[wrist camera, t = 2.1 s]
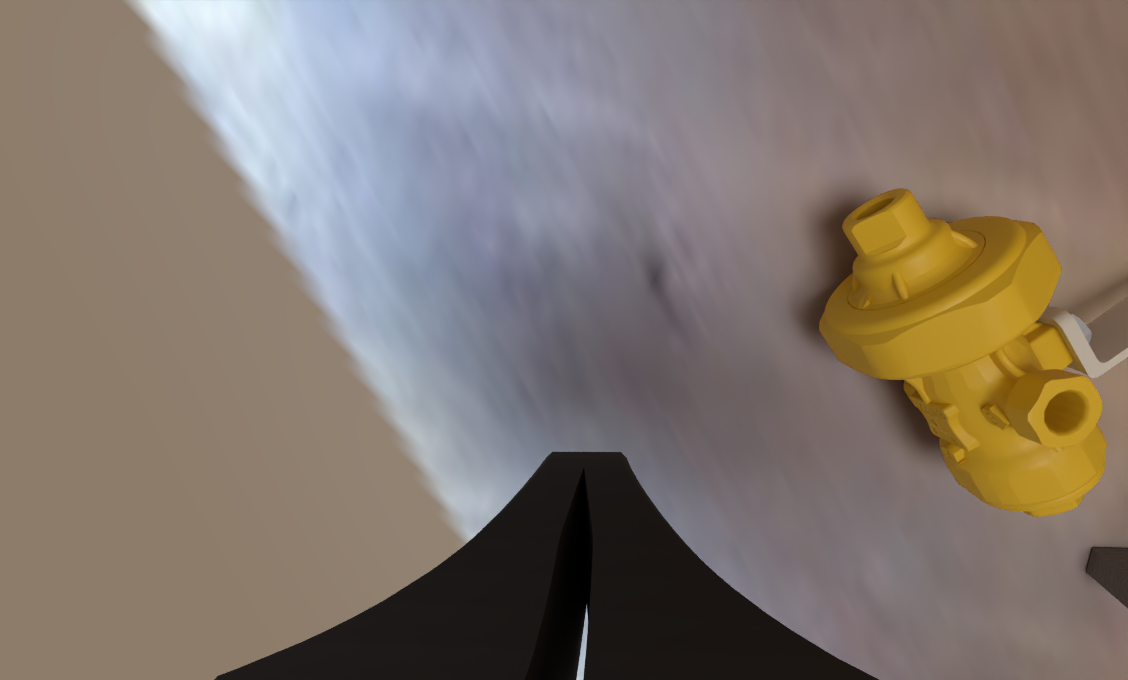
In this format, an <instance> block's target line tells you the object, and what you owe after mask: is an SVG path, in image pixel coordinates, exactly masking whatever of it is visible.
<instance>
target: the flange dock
mask: <svg viewBox="0 0 1128 680" xmlns="http://www.w3.org/2000/svg"><path fill="white" fill-rule="evenodd" d="M1086 573H1088V574H1089V575H1090V576H1091V577H1092V578H1093V579H1095V580H1096V581H1097V582H1098V583H1099V584H1100V585H1101V586H1103V587H1104V588H1105V589H1106V590H1107V591H1108V592H1110V593H1111V594H1112V595H1113V596H1114V597H1115V598H1116V599H1118V600H1119V601H1120V602H1121V603H1122V604H1123V605H1125V606H1126V607H1127V608H1128V548H1092V552H1091V555H1090V559H1089V563H1088V566H1087V570H1086Z"/></svg>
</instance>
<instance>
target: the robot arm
mask: <svg viewBox="0 0 1128 680" xmlns="http://www.w3.org/2000/svg"><path fill="white" fill-rule="evenodd" d="M586 605H587V611H588V634H587V647H586V659H585V669H584V680H879V679H877V678H875V677H873V676H871V675H869V674H867V673H865V672H863V671H861V670H859V669H857V668H855V667H853V666H851V665H850V664H848V663H846V662H844V661H842V660H840V659H838V658H836V657H834V656H833V655H831V654H829V653H828V652H826V651H824V650H823V649H821V648H819V647H818V646H816V645H815V644H813V643H811V642H810V641H808V640H806V639H805V638H803V637H802V636H800V635H798V634H797V633H795V632H793V631H792V630H790V629H789V628H787V627H786V626H784V625H783V624H781V623H780V622H778V621H777V620H775V619H774V618H772V617H771V616H769V615H768V614H767V613H765V612H764V611H762V610H761V609H760V608H758V607H757V606H756V605H754V604H753V603H752V602H751V601H749V600H748V599H747V598H745V597H744V596H743V595H741V594H740V593H739V592H737V591H736V590H735V589H733V588H732V587H731V586H730V585H729V584H727V583H726V582H725V581H724V580H723V579H721V578H720V577H719V576H718V575H717V574H716V573H715V572H713V571H712V570H711V569H710V568H709V567H708V566H707V565H706V564H705V563H704V562H703V561H702V560H701V559H700V558H699V557H698V556H697V555H696V554H695V553H694V552H693V551H692V550H691V549H690V548H689V547H688V546H687V544H686V543H685V542H684V541H683V540H682V539H681V538H680V536H679V535H678V534H677V533H676V532H675V531H674V530H673V528H672V527H671V526H670V525H669V524H668V522H667V521H666V520H665V519H664V517H663V516H662V515H661V513H660V512H659V511H658V509H657V508H656V506H655V505H654V504H653V502H652V501H651V500H650V498H649V497H648V495H647V494H646V492H645V491H644V489H643V488H642V486H641V485H640V483H639V481H638V480H637V478H636V476H635V475H634V473H633V471H632V469H631V467H630V465H629V463H628V460H627V458H626V457H625V456H624V455H623V454H622V453H621V452H552V453H551V454H550V455H549V456H548V457H547V458H546V459H545V460H544V461H543V463H542V464H541V465H540V467H539V468H538V469H537V470H536V472H535V473H534V474H533V476H532V477H531V478H530V479H529V480H528V482H527V483H526V484H525V485H524V486H523V488H522V489H521V490H520V491H519V492H518V493H517V494H516V495H515V496H514V498H513V499H512V500H511V501H510V502H509V503H508V504H507V505H506V506H505V507H504V509H503V510H502V511H501V512H500V513H499V514H498V515H497V516H496V517H495V518H493V519H492V520H491V521H490V522H489V523H488V524H487V525H486V526H485V527H484V528H483V529H482V530H481V531H480V532H479V533H478V534H477V535H476V536H475V537H474V538H473V539H471V540H470V541H469V542H468V543H467V544H466V545H464V546H463V547H462V548H461V549H460V550H458V551H457V552H456V553H454V554H453V555H452V556H451V557H449V558H448V559H447V560H445V561H444V562H442V563H441V564H440V565H438V566H437V567H436V568H434V569H433V570H431V571H430V572H429V573H427V574H425V575H424V576H422V577H420V578H419V579H418V580H416V581H414V582H413V583H411V584H410V585H408V586H406V587H405V588H403V589H401V590H400V591H398V592H397V593H396V594H394V595H392V596H391V597H389V598H387V599H386V600H384V601H382V602H380V603H379V604H377V605H375V606H373V607H372V608H370V609H368V610H366V611H364V612H362V613H360V614H358V615H357V616H355V617H353V618H351V619H349V620H347V621H345V622H343V623H341V624H339V625H337V626H335V627H333V628H331V629H329V630H327V631H325V632H323V633H321V634H318V635H316V636H314V637H312V638H310V639H308V640H306V641H303V642H301V643H299V644H296V645H294V646H291V647H289V648H287V649H284V650H282V651H279V652H277V653H274V654H272V655H270V656H267V657H265V658H262V659H260V660H257V661H255V662H252V663H250V664H248V665H245V666H243V667H240V668H238V669H235V670H233V671H230V672H227V673H225V674H222V675H219V676H217V678H216V679H215V680H576V677H577V670H578V663H579V656H580V649H581V642H582V634H583V627H584V620H585V613H586Z"/></svg>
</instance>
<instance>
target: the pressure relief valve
mask: <svg viewBox="0 0 1128 680" xmlns="http://www.w3.org/2000/svg"><path fill="white" fill-rule="evenodd" d="M842 228H843V231H844V233H845V235H846V236H847V238H848V239H849V241H850V243H851V244H852V246H853V247H854V249H855V251H856V252H857V254H858V256H857V257H856V259H855V260H854V263H853V267H852V269H853V273H852V274H850V275H849V276H848V277H847V278H846V279H845V280H844V281H843V282H842V283H841V284H840V285H839V286H838V287H837V288H836V290H835V291H834V292H833V293H832V295H831V297H830V298H829V300H828V302H827V304H826V307H825V312H824V313H823V315H822V317H821V319H820V321H819V331H820V333H821V334H822V336H823V337H824V339H825V341H826V342H827V344H828V345H829V347H830V348H831V350H832V351H833V353H834V354H835V356H836V357H837V359H838V360H839V361H841V362H842V363H844V364H846V365H847V366H849V367H851V368H853V369H855V370H857V371H859V372H861V373H863V374H866V375H869V376H872V377H875V378H879V379H887V380H905V382H904V390H905V392H906V394H907V396H908V397H909V399H910V400H911V402H912V403H913V405H914V406H915V407H917V408H919V410H920V411H921V412H922V414H923V415H924V417H925V418H926V420H927V422H928V424H929V428H930V430H931V432H932V433H933V434H934V435H936V436H938V437H940V440H939V444H940V449H941V452H942V453H943V459H944V461H945V463H946V465H947V467H948V469H949V470H950V472H951V473H952V475H953V476H954V478H955V480H956V481H957V483H958V484H959V485H961V486H962V487H964V488H965V489H967V490H968V491H969V492H970V493H972V494H973V495H975V496H976V497H977V498H979V499H980V500H981V501H983V502H985V503H986V504H988V505H991V506H993V507H996V508H999V509H1004V510H1010V511H1023V512H1024V513H1026V514H1028V515H1031V516H1034V517H1039V516H1049V515H1054V514H1059V513H1062V512H1066V511H1069V510H1071V509H1074V508H1076V507H1077V506H1078V505H1079V504H1080V502H1081V500H1082V498H1083V496H1084V494H1085V493H1087V492H1088V491H1089V490H1090V489H1092V488H1093V487H1094V486H1095V485H1096V484H1097V482H1098V481H1099V480H1100V478H1101V476H1102V475H1103V472H1104V469H1105V450H1106V446H1107V443H1106V440H1105V438H1104V435H1103V433H1102V431H1101V430H1100V428H1099V426H1098V424H1097V421H1098V419H1099V417H1100V415H1101V413H1102V405H1103V403H1102V400H1101V398H1100V396H1099V394H1098V392H1097V390H1096V389H1095V387H1094V386H1093V384H1092V382H1091V381H1090V380H1089V379H1088V378H1086V377H1084V376H1081V375H1078V374H1074V373H1070V372H1067V371H1063V370H1064V369H1065V368H1066V367H1069V368H1073V369H1076V370H1078V371H1081V372H1083V373H1085V374H1087V375H1088V376H1089V377H1091V378H1097V377H1099V376H1100V375H1102V374H1103V373H1105V372H1106V371H1108V370H1109V369H1111V368H1112V367H1113V366H1115V365H1116V364H1118V363H1119V362H1121V361H1122V360H1124V359H1125V358H1126V357H1128V297H1127V298H1125V299H1124V300H1122V301H1121V302H1119V303H1118V304H1117V305H1115V306H1114V307H1112V308H1111V309H1109V310H1108V311H1107V312H1105V313H1104V314H1102V315H1101V316H1099V317H1098V318H1097V319H1095V320H1094V321H1092V322H1091V323H1089V324H1088V325H1086V324H1085V323H1084V322H1083V321H1082V320H1081V319H1080V318H1078V317H1077V316H1075V315H1074V314H1072V313H1070V312H1067V311H1065V310H1063V309H1060V308H1056V307H1050V306H1048V304H1049V302H1050V300H1051V297H1052V294H1053V292H1054V290H1055V287H1056V285H1057V282H1058V279H1059V276H1060V273H1061V269H1062V267H1061V265H1060V263H1059V261H1058V260H1057V258H1056V256H1055V254H1054V252H1053V250H1052V249H1051V247H1050V245H1049V243H1048V241H1047V239H1046V238H1045V236H1044V234H1043V232H1042V230H1041V229H1040V228H1039V227H1038V226H1037V225H1036V224H1034V223H1030V222H1024V221H1017V220H1011V219H1008V218H1004V217H997V216H985V217H974V218H968V219H963V220H959V221H955V222H951V223H946V222H945V221H944V220H941V219H937V218H928V219H927V218H926V216H925V214H924V213H923V211H922V209H921V208H920V206H919V204H918V202H917V201H916V199H915V197H914V196H913V194H912V192H911V191H909V190H908V189H902V188H900V189H894V190H891V191H888V192H885V193H883V194H881V195H879V196H877V197H875V198H873V199H871V200H869V201H867V202H865V203H864V204H862V205H861V206H859V207H858V208H857V209H855V210H854V211H853V212H852V213H850V214H849V215H848V216H847V217H846V219H845V220H844V222H843V225H842Z"/></svg>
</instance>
